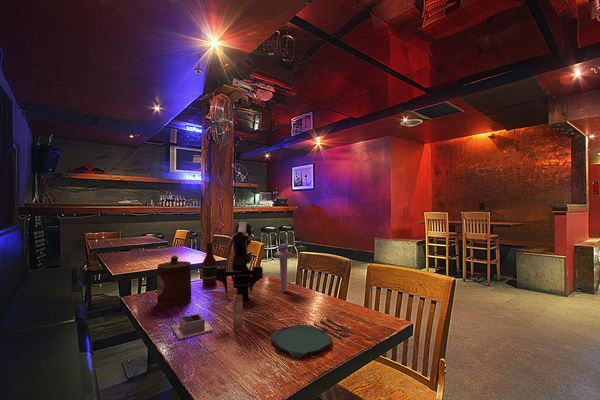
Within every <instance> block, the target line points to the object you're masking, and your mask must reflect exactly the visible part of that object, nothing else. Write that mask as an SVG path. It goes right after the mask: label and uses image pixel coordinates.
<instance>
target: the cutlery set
mask: <svg viewBox="0 0 600 400" xmlns="http://www.w3.org/2000/svg"><path fill="white" fill-rule="evenodd" d="M327 322H329V323H331V324H332V325H334V326H336V327H339V328H341V329H339V328H335V327H333V326H332V325H331V324H329V323H327ZM319 323H321V324H323V325H325V326H327V327H329V328H331V329H333V331H335V333H334V332H332V331H330V330H329V329H328V328H326V327H323V326H321V325H319V324H317V323H316V322H314V323H313V325H314V326H313V325H308V324H295V325H291V326H286V327H283V328H280V329H278V330H275V331H274V332H273V333H272V335H271V337H270V341H271V342H272V344H273V345H274V347H275V348H276V349H278V350H281V351H282V352H284V353H288V354H290V355H291V356H292V358H295V359H299V360H300V359H301V358H302V357H303V356H304V355H313V354H317V353H320V352H323V351H324V350H327V348H328V347H329V346H332V341H333V339H332V336H333V337H334V338H337V339H339V340H341V339H343V338H342V337H347V336H349V334H351V335H353V334H356V332H355V331H353V330H351V329H350V328H348V327H347V326H344V325H341V324H338V323H337V322H335V321H333V320H331V319H330V318H328V317H327V318H326V321H324V320H322V319H321V320H319ZM315 326H317V327H319V328H317V327H315ZM320 328H321V329H320ZM339 332H343V333H345V334H346V335H344V334H341V333H339ZM329 334H330V335H329ZM331 335H332V336H331ZM341 336H342V337H341Z"/></svg>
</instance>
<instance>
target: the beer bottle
mask: <svg viewBox="0 0 600 400" xmlns="http://www.w3.org/2000/svg"><path fill="white" fill-rule="evenodd" d="M213 244H214V243H213V242H207V243H206V244H205V245H206V250H205V251H206V254H205V257H204V259H203V261H202V286H205V287H212V286H216V284H217V282H218V281H217V280H216V275H215V271H216V269H217V268H218V267H217V260H216V258H215V257H214V250H213V249H214V248H213Z"/></svg>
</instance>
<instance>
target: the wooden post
mask: <svg viewBox="0 0 600 400" xmlns="http://www.w3.org/2000/svg"><path fill="white" fill-rule="evenodd" d="M243 302H244V301H243V295H240V294H237V293H236V294H234V295H233V296H232V330H233V332H241V331H243V329H244V327H243V326H244V325H243V323H244V322H243V321H244V318H243V317H244V315H243V314H244V312H243V311H244V310H243V308H244V307H243V306H244V303H243Z"/></svg>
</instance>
